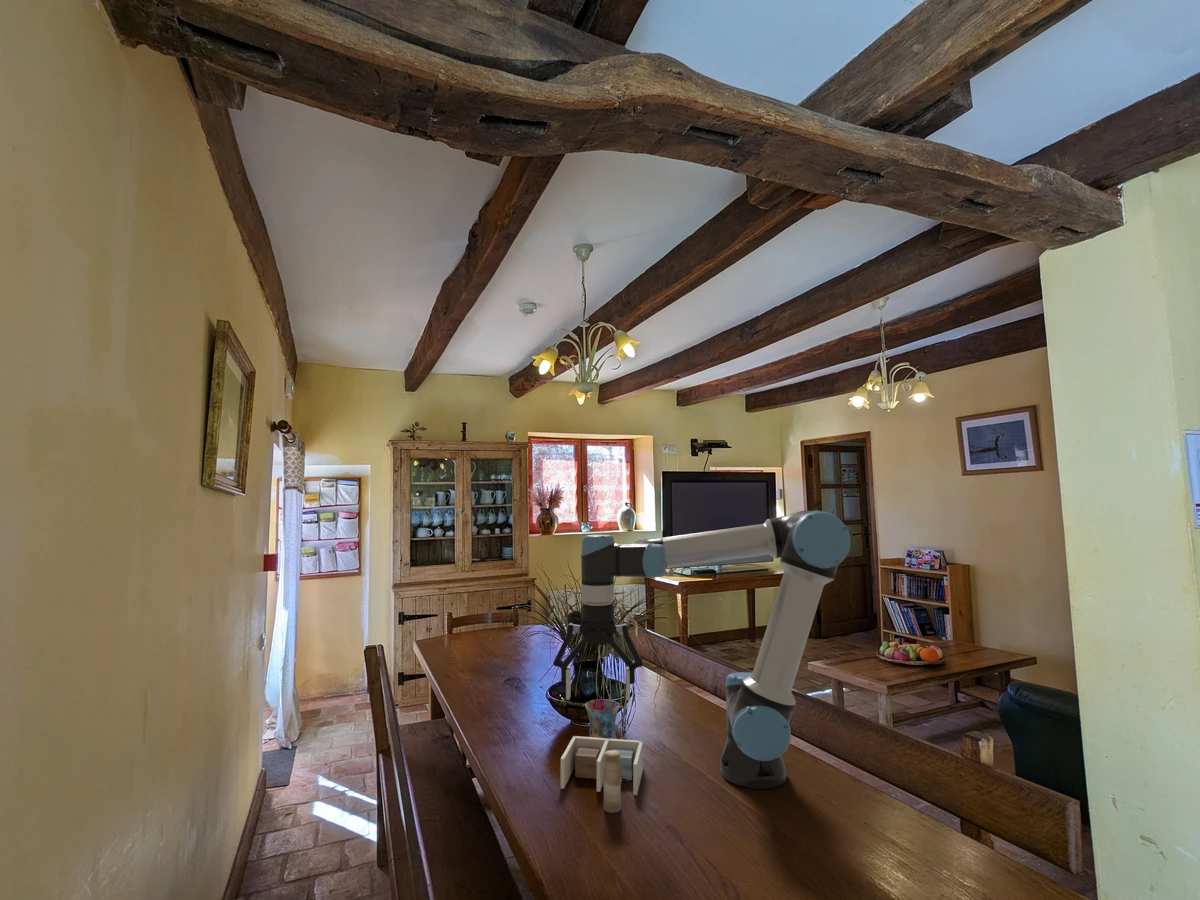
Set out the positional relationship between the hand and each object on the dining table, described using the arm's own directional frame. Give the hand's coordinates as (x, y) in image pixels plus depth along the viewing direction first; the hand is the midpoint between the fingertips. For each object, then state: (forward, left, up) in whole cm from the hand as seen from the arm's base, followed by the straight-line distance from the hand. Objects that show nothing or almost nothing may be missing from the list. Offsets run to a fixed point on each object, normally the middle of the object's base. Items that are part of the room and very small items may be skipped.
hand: (598, 698), depth 132 cm
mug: (+13, -22, -20) cm, 33 cm away
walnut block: (+7, -6, -20) cm, 23 cm away
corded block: (-3, -3, -20) cm, 21 cm away
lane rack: (+3, -6, -20) cm, 21 cm away
